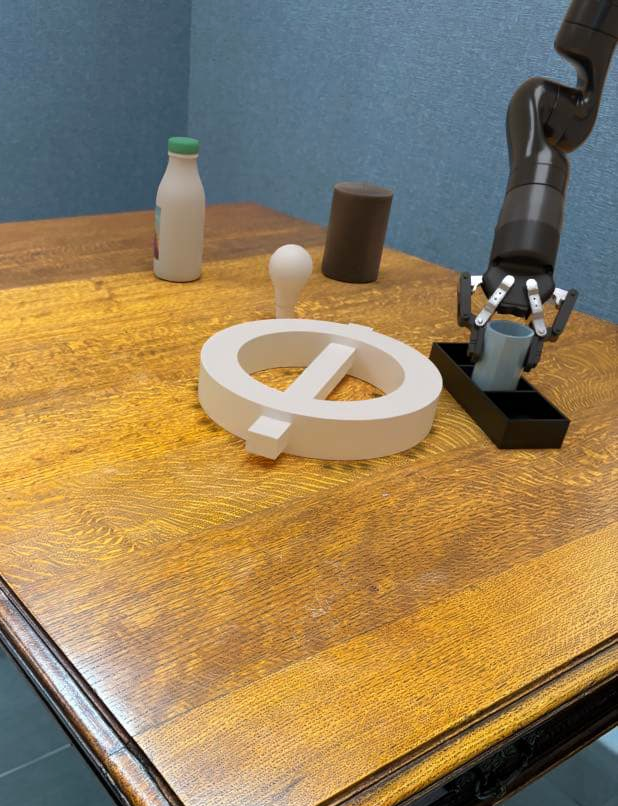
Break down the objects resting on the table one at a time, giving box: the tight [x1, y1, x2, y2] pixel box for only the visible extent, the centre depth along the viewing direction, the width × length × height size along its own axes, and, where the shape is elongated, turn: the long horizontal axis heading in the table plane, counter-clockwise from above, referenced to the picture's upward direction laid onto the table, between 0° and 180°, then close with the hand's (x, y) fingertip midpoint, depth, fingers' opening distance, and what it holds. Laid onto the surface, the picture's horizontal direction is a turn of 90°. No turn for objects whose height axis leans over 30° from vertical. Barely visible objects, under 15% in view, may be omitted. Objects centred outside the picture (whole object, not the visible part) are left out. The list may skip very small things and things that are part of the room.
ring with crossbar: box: [197, 318, 443, 461], centre depth 96 cm, size 28×28×5 cm
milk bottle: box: [152, 136, 206, 283], centre depth 125 cm, size 8×8×20 cm
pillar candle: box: [320, 179, 394, 284], centre depth 134 cm, size 10×10×15 cm
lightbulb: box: [268, 243, 314, 319], centre depth 114 cm, size 6×6×11 cm
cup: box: [471, 319, 534, 391], centre depth 97 cm, size 5×5×9 cm
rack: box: [428, 341, 572, 450], centre depth 99 cm, size 8×22×4 cm, turn 9°
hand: (501, 364), depth 95 cm, fingers closed on cup, 5 cm apart
